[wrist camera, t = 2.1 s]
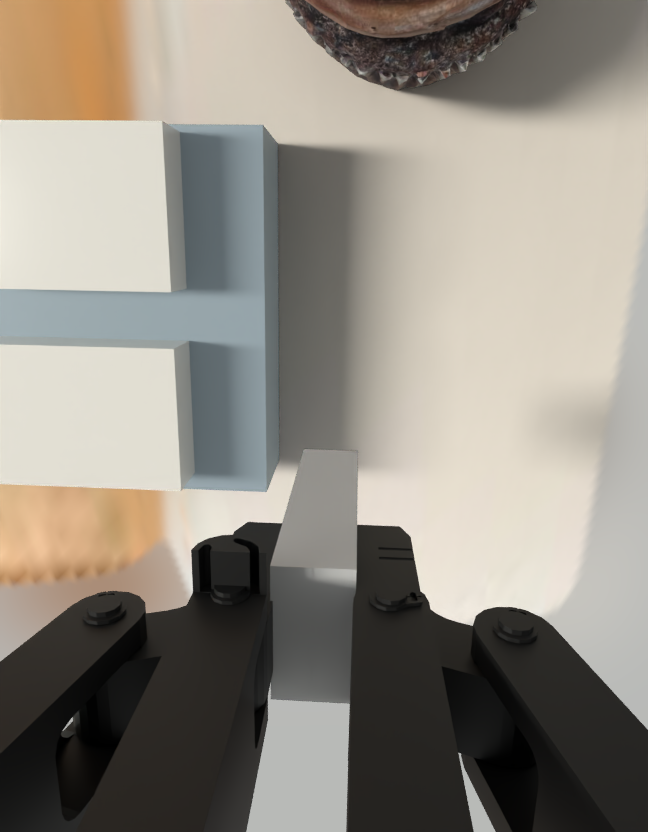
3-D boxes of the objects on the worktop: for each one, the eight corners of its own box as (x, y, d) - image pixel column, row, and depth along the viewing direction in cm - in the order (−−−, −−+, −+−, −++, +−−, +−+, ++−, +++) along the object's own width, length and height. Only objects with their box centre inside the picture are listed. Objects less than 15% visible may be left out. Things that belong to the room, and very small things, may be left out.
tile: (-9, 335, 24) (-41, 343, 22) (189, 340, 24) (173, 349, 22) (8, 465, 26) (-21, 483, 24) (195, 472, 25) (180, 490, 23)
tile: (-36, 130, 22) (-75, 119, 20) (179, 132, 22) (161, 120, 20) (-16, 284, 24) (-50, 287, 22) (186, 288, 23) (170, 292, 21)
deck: (-91, 140, 26) (-169, 122, 22) (277, 143, 25) (263, 124, 21) (-43, 447, 30) (-103, 477, 26) (279, 459, 29) (266, 491, 25)
